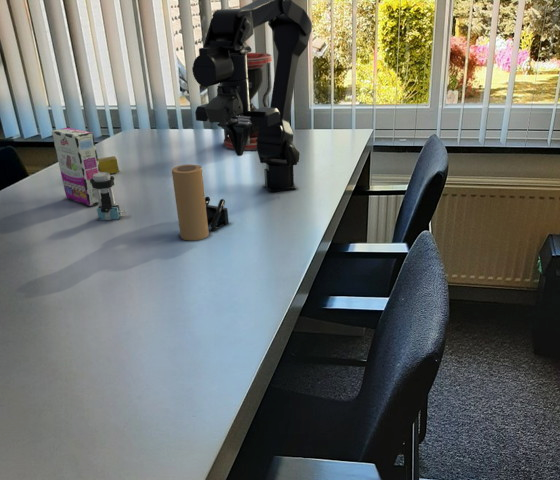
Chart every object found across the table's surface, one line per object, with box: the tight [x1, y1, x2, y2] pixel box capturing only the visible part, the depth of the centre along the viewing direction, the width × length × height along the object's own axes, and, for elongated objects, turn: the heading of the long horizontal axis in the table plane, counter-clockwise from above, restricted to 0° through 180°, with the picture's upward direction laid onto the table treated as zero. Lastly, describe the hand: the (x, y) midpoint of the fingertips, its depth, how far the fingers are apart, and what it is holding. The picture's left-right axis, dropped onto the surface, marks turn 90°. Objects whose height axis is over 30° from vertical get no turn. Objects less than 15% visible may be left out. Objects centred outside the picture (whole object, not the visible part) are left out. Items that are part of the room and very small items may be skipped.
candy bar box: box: [51, 127, 101, 207], centre depth 150 cm, size 11×5×16 cm, turn 47°
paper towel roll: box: [171, 164, 210, 241], centre depth 128 cm, size 14×6×14 cm
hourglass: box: [219, 52, 273, 151], centre depth 188 cm, size 16×16×25 cm
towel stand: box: [205, 196, 230, 232], centre depth 134 cm, size 5×6×6 cm
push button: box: [90, 172, 128, 221], centre depth 140 cm, size 7×5×10 cm
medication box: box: [98, 155, 120, 175], centre depth 171 cm, size 12×3×4 cm, turn 115°
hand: (239, 155), depth 138 cm, fingers closed
